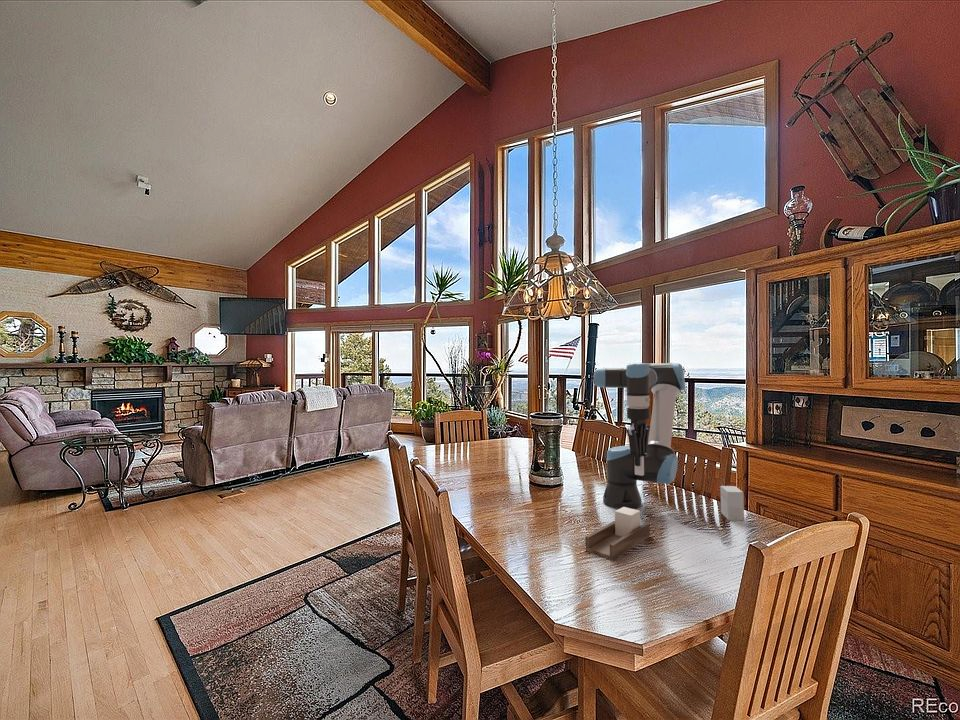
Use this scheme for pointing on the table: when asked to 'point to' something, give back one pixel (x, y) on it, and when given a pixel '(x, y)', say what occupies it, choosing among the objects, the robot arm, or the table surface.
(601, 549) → the chute
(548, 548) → the table surface
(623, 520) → the block
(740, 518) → the small box
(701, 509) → the table surface
